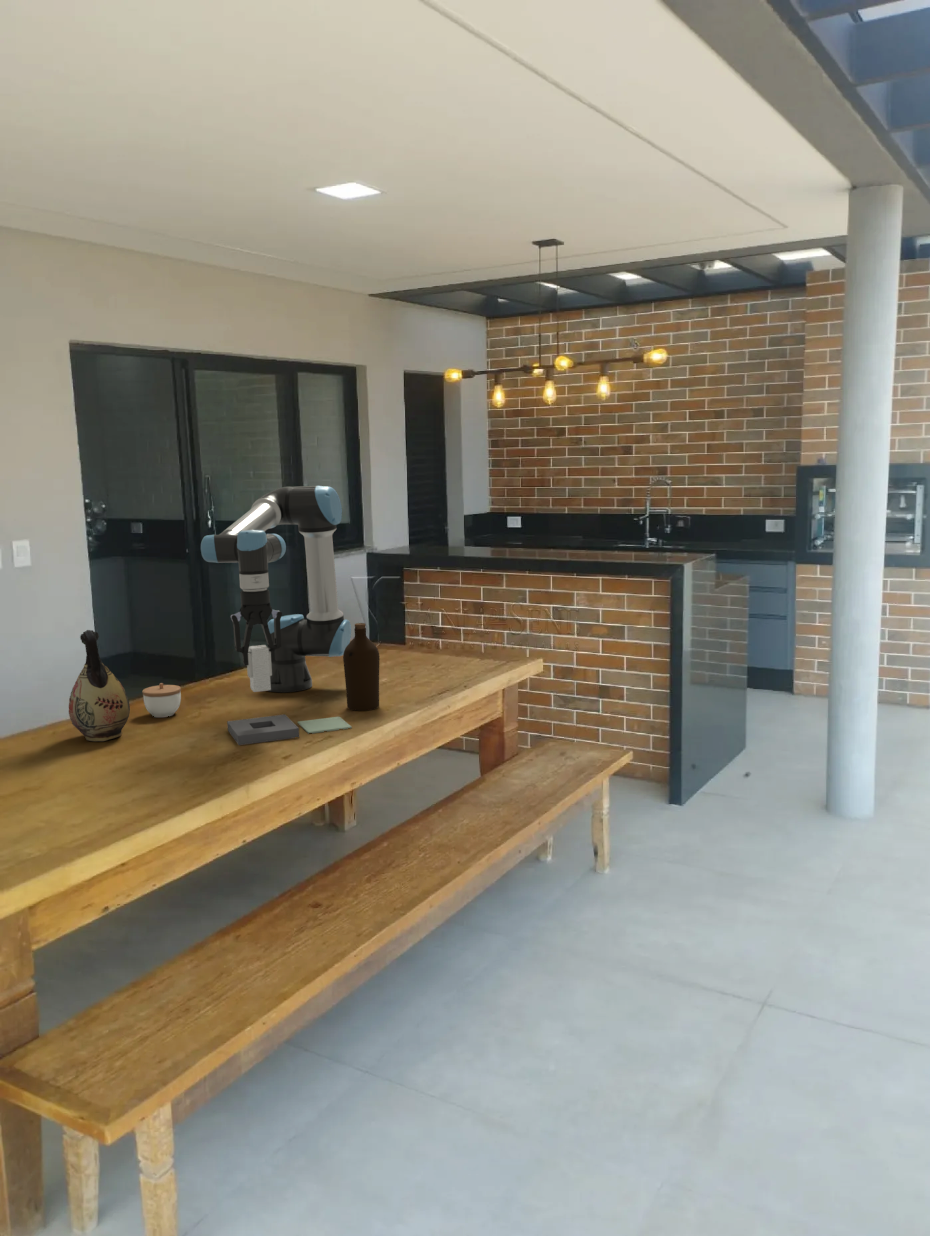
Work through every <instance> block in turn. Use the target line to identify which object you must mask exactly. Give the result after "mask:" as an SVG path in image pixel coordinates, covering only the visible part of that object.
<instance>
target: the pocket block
mask: <svg viewBox="0 0 930 1236" xmlns="http://www.w3.org/2000/svg"><path fill="white" fill-rule="evenodd" d="M226 722H227V723H226V724H227V731H228V733H229V734H230V735H231V737H232V738H233V740H234V741H235V743H236V744H237V745H238V746H243V745H250V744H257V743H266V742H274V741H281V740H288V739H296V738H295V737H298V738H300V729H299V726H297V725H296V724H295V723H294V721H292V720H291V719H290V718H289V717H288V716H287V714H276V715H269V716H261V717H260V716H259V717H252V718H245V719H236V720H227V721H226Z"/></svg>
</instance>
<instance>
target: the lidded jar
mask: <svg viewBox="0 0 930 1236" xmlns="http://www.w3.org/2000/svg"><path fill="white" fill-rule="evenodd" d="M181 691H182V688H181V686H179V685H175V684H164V683H163V682H160V683H159V685H152V686H149V687H146V688H143V690H142V692H141V693H142V698H143V704H144V707H145V709H146V710H147V713H149V714H150V715H152V717H153V716H154V717H153V718H167V717H168V716H169V717H172V716H174V715H175V713H176V712H177V711H178V709H179V707H180V705H181V701H182V694H181Z"/></svg>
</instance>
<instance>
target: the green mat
mask: <svg viewBox="0 0 930 1236" xmlns="http://www.w3.org/2000/svg"><path fill="white" fill-rule="evenodd" d="M297 724H298V726H300V727H301V728H302V729H303V730H304V731H305V732H306V733H307V734H308V735H310V734H309V733H312V734H319V733H325V732H324V731H327V732H335V731H340V730H339V729H343V730H349V729H348V728H350V729H352V727H353V726H352V725H350V724H349V723H348V722H347V721H345V720H344V719H343V718H342V717H340V716H333V717H325V718H323V717H322V718H316V719H308V720H300V721H297Z"/></svg>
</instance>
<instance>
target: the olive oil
mask: <svg viewBox="0 0 930 1236" xmlns="http://www.w3.org/2000/svg"><path fill="white" fill-rule="evenodd" d="M342 656H343V657H342V662H343V670H344V671H343V672H344V680H345V692H346V705H347V709H349V710H350V711H357V712H359V711H361V712H362V711H365V712H367V711H372V710H375V709H378V708H379V707H380V659H381V658H380V651H379V649H378V647H377V646H376V644H375V643H374V642H372V640H370V638H368V636H367V628H366V623H364V622H357V623H354V637H353V638H352V639H351V640H350V643H349V644H348V645H347V647H346V648H345V650H344V654H343V655H342Z"/></svg>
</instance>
